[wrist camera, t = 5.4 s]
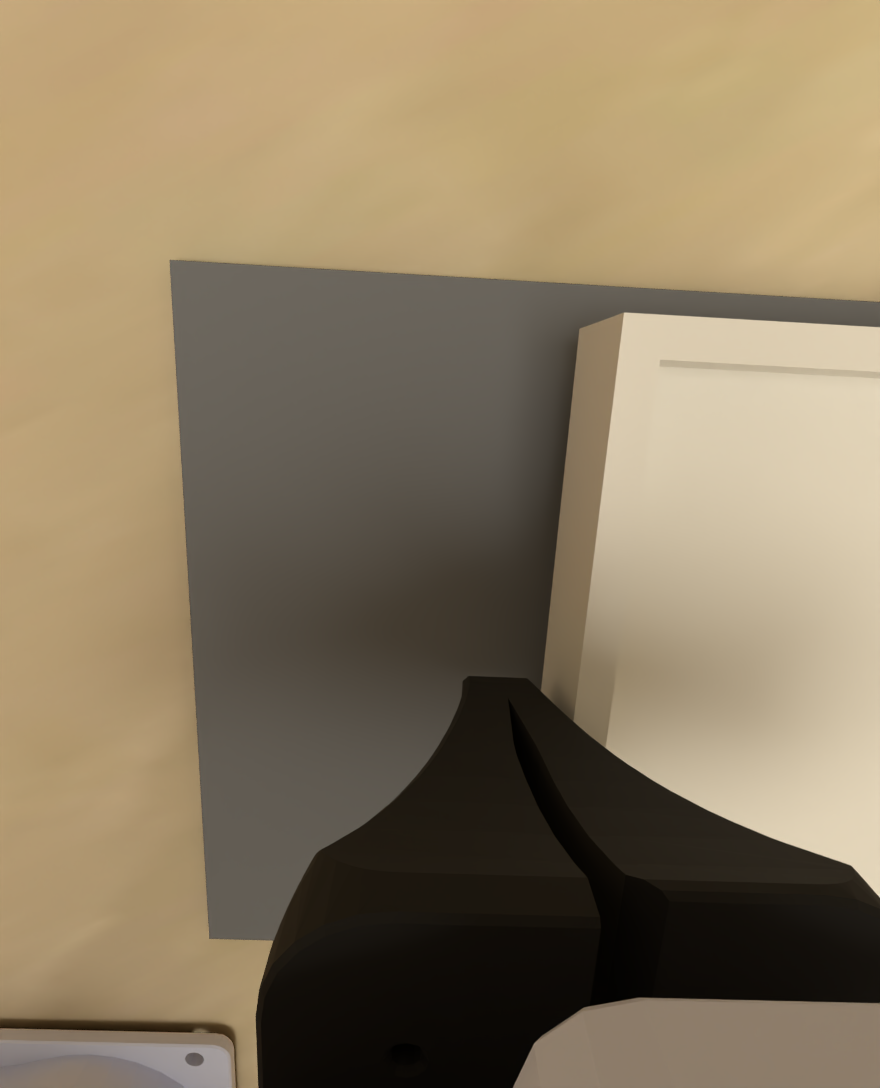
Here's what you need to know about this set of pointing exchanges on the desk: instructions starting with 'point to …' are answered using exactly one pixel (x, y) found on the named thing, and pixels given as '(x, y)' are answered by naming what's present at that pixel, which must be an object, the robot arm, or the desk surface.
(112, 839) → the desk surface
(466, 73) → the desk surface
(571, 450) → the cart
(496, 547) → the thin flat board
